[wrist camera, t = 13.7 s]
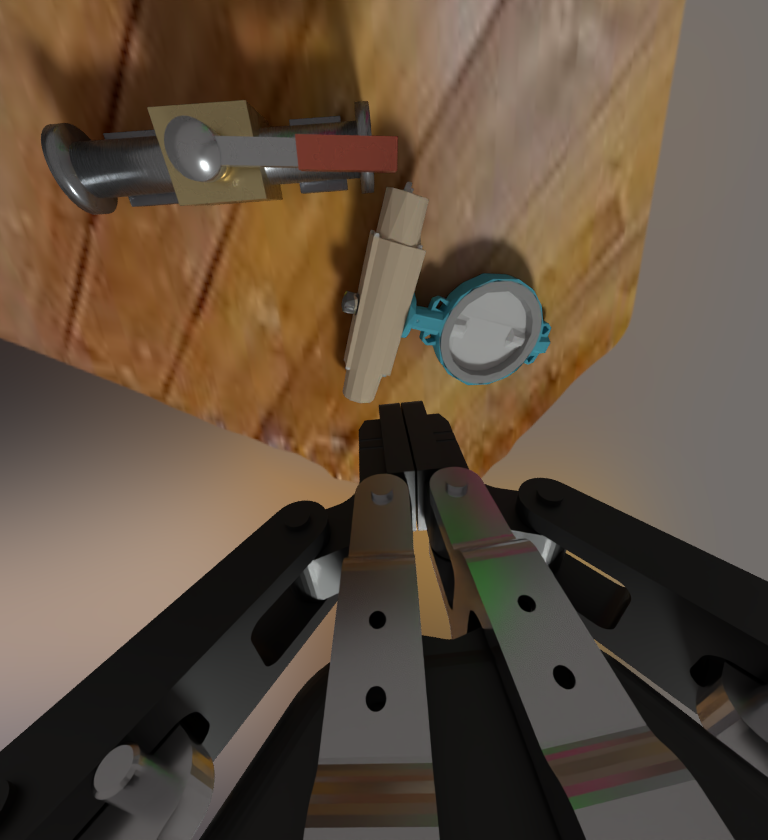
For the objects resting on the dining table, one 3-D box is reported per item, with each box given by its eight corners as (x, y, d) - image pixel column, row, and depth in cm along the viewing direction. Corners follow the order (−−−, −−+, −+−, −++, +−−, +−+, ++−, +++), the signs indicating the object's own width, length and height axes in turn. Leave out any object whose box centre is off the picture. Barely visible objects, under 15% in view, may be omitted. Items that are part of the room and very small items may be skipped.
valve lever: (184, 182, 29) (173, 181, 27) (168, 120, 27) (156, 114, 25) (394, 185, 30) (396, 184, 28) (395, 126, 28) (398, 121, 26)
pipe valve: (121, 213, 38) (55, 216, 30) (88, 133, 35) (1, 110, 26) (371, 193, 39) (376, 190, 30) (366, 112, 35) (369, 83, 27)
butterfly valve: (576, 243, 46) (363, 169, 37) (613, 251, 40) (373, 166, 32) (493, 408, 60) (322, 382, 51) (512, 431, 54) (324, 407, 45)
